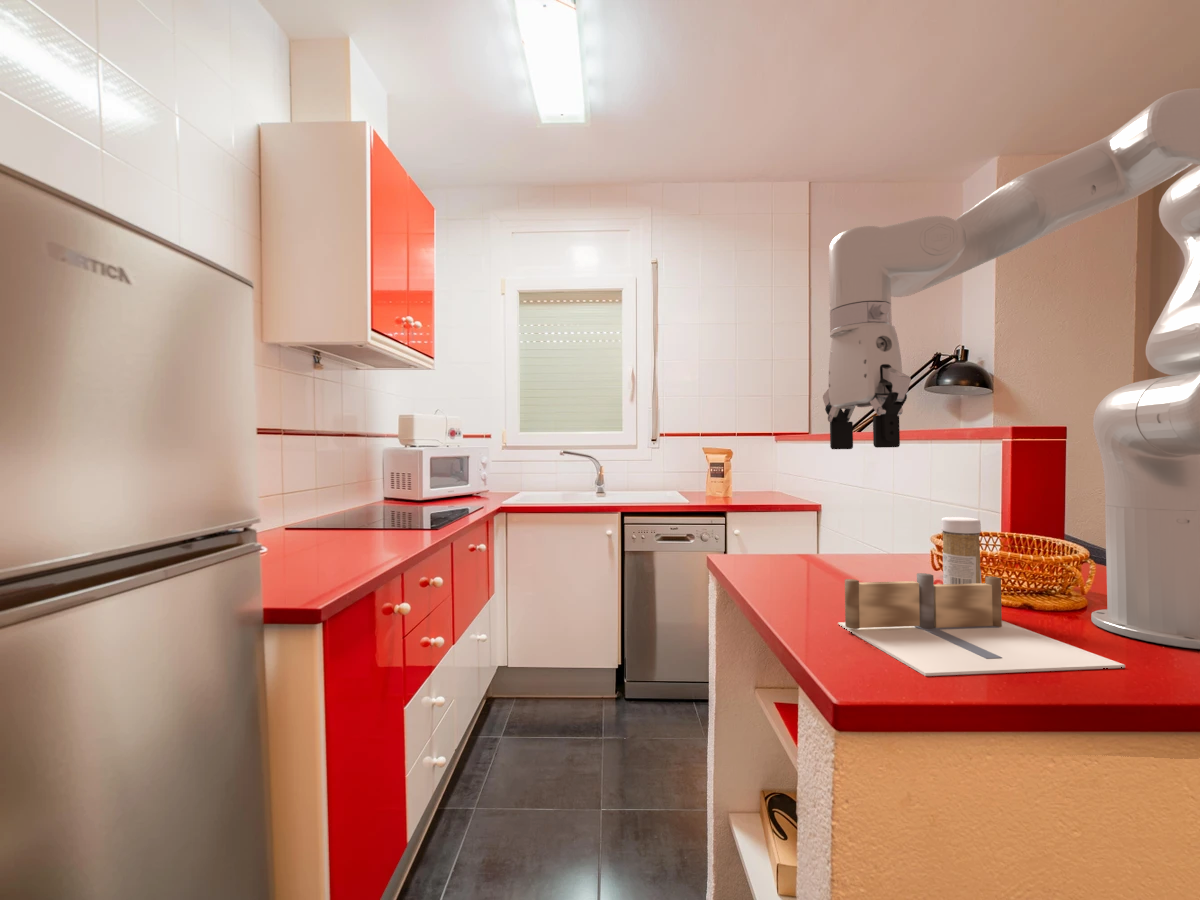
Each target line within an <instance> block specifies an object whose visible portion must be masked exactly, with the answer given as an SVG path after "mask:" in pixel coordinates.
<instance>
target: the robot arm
mask: <svg viewBox="0 0 1200 900" xmlns="http://www.w3.org/2000/svg"><path fill="white" fill-rule="evenodd" d="M1193 165H1198V166H1195V167H1193V168H1192V169H1190V170H1189V171H1187V172H1186V173H1185V174H1183V175H1182V176H1181V177H1179V178H1178V179H1177V180H1176V181H1174V182H1173V183H1172V184H1171V185H1170V186H1169V187H1168V189H1166V191H1165V193H1164V194H1163V195H1162V197H1161V200H1160V202H1159V205H1158V217H1159V220H1160V223H1161V224H1162V227H1163V228H1164V229H1165V230H1166V232H1168V234H1169V235H1170V236H1171V237H1172V239H1173V240H1174V241H1175V242H1176V244H1177V245H1178V246H1179V249H1180V250H1181V253H1182V255H1183V258H1184V266H1183V270H1182V272H1181V275H1180V276H1179V279H1178V281H1177V284H1176V286H1175V287H1174V289H1173V291H1172V293H1171V295H1170V296H1169V298H1168V300H1167V301H1166V304H1165V306H1164V307H1163V310H1162V311H1161V313H1160V315H1159V317H1158V319H1157V320H1156V322H1155V324H1154V326H1153V328H1152V330H1151V332H1150V334H1149V335H1148V339H1147V341H1146V344H1145V357H1146V359H1147V362H1148V364H1149V365H1150V366H1151V367H1152V368H1153V369H1154V370H1156V371H1158V372H1159V373H1162V374H1165V375H1166V376H1161V377H1157V378H1150V379H1144V380H1139V381H1136V382H1132V383H1129V384H1126V385H1123V386H1121V387H1119V388H1117V389H1115V390H1113V391H1111V392H1110V393H1108V394H1107V395H1106V396H1104V398H1103V399H1102V400H1101V401H1100V402H1099V403H1098V405H1097V406H1096V408H1095V411H1094V413H1093V418H1092V421H1093V422H1092V424H1093V425H1092V427H1093V432H1094V437H1095V441H1096V444H1097V448H1098V451H1099V455H1100V458H1101V463H1102V470H1103V479H1104V503H1105V504H1104V508H1105V509H1104V516H1105V517H1104V518H1105V519H1104V521H1105V557H1106V559H1105V560H1106V562H1105V564H1106V595H1107V596H1106V598H1107V599H1106V600H1107V606H1106V607H1107V608H1106V609H1098V610H1095V611H1092V612H1091V617H1090V618H1091V622H1092V623H1093V624H1094V625H1095V626H1096V627H1099V628H1100V629H1103V630H1105V631H1108V632H1110V633H1114V634H1117V635H1120V636H1125V637H1127V638H1131V639H1135V640H1140V641H1143V642H1149V643H1155V644H1159V645H1166V646H1171V647H1179V648H1183V649H1184V648H1185V649H1191V650H1192V649H1194V650H1200V87H1198V88H1197V87H1196V88H1194V87H1193V88H1185V89H1180V90H1177V91H1173V92H1169V93H1167V94H1165V95H1163V96H1162V97H1160V98H1158V99H1156V100H1155V101H1153V102H1152V103H1151V104H1150V105H1148V106H1147V107H1146V108H1144V109H1142V110H1141V111H1140V112H1139V113H1137V114H1136V115H1135V116H1134V117H1132V118H1131V119H1130V120H1128V121H1127V122H1126V123H1124V124H1123V125H1122V126H1120V127H1119V128H1117V129H1116V130H1115V131H1113V132H1111V133H1110V134H1109V135H1106V136H1105V137H1103V138H1101V139H1099V140H1098V141H1095V142H1093V143H1090V144H1088V145H1086V146H1084V147H1081V148H1080V149H1077V150H1075V151H1073V152H1070V153H1069V154H1066V155H1064V156H1061V157H1059V158H1057V159H1054V160H1052V161H1049V162H1047V163H1045V164H1043V165H1041V166H1039V167H1036V168H1034V169H1032V170H1029V171H1027V172H1025V173H1023V174H1020V175H1018V176H1017V177H1015V178H1013V179H1011V180H1010V181H1009V182H1007V183H1005V184H1004V185H1002V186H1000V187H999V188H998V189H996V190H995V191H993V192H992V193H990V194H989V195H988V196H986V197H985V198H984V199H982V200H981V201H979V202H978V203H977V204H976V205H973V207H971V208H970V209H969V210H967V211H965V212H964V213H963V214H961V215H960V216H958V217H956V218H955V219H954V218H951V217H948V216H944V215H943V216H942V215H931V216H929V215H928V216H923V217H917V218H916V219H915V218H914V219H911V220H907V221H903V222H897V223H894V224H891V225H885V226H875V225H864V226H857V227H853V228H850V229H847V230H845V231H842V232H841V233H839V234H837V235H836V236H835V237H834V238H833V239H832V240H831V241H830V244H829V247H828V282H829V283H828V286H829V287H828V288H829V289H828V290H829V291H828V293H829V295H828V296H829V302H828V303H829V337H830V338H831V343H830V348H829V349H830V351H829V358H828V359H829V360H828V361H829V363H828V389H827V390H826V391H825V392H824V394H823V395H822V400H823V403H824V406H825V409H824V410H825V412H826V414H827V421H828V423H829V440H830V441H829V442H830V444H829V445H830V446H829V447H830V449H831V450H852V449H853V448H854V433H853V432H854V431H853V430H854V428H853V425H854V424H853V421H850V419H851V417H852V415H853V413H854V410H855V408H856V407H858V408H869V407H872V408H873V410H874V412H875V414H876V415H873V416H872V433H873V434H872V438H873V447H875V448H899V447H900V445H901V441H900V440H901V438H900V437H901V435H900V434H901V432H900V431H901V430H900V416H901V415H902V414H903V411H904V409H903V406H904V405H905V402H906V401H907V399H908V395H907V393H908V391H909V388H910V385H911V381H912V380H911V376H909V375H908V374H905V373H903V365H902V363H903V362H902V357H901V356H902V353H901V348H900V344H899V343H900V342H899V338H898V334H897V330H896V327H895V326H894V325H893V324H892V323H893V322H892V320H893V319H892V297H893V298H903V297H904V298H905V297H909V296H911V295H915V294H917V293H920V292H923V291H925V290H927V289H929V288H931V287H934V286H936V285H939V284H942V283H944V282H945V281H948V280H951V279H953V278H955V277H957V276H960V275H962V274H963V273H966V272H969V271H970V270H972V269H975V268H977V267H978V266H980V265H983V264H985V263H988V262H990V261H992V260H995V259H997V258H999V257H1002V256H1005V255H1007V254H1010V253H1012V252H1014V251H1017V250H1018V249H1021V248H1022V247H1024V246H1027V245H1028V244H1030V243H1033V242H1035V241H1037V240H1039V239H1041V238H1044V237H1046V236H1048V235H1051V234H1053V233H1055V232H1057V231H1060V230H1062V229H1064V228H1066V227H1068V226H1071V225H1073V224H1076V223H1078V222H1081V221H1083V220H1085V219H1087V218H1090V217H1093V216H1095V215H1097V214H1100V213H1102V212H1104V211H1107V210H1109V209H1113V208H1114V207H1117V206H1119V205H1121V204H1123V203H1126V202H1128V201H1131V200H1132V199H1135V198H1137V197H1138V196H1140V195H1142V194H1145V193H1146V192H1148V191H1149V190H1151V189H1153V188H1155V187H1157V186H1158V185H1160V184H1162V183H1163V182H1165V181H1167V180H1169V179H1171V178H1172V177H1174V176H1175V175H1177V174H1179V173H1180V172H1182V171H1184V170H1186V169H1187V168H1189V167H1190V166H1193ZM843 410H844V411H843Z"/></svg>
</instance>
